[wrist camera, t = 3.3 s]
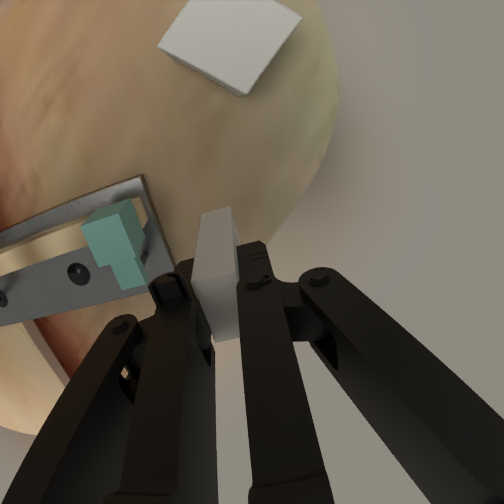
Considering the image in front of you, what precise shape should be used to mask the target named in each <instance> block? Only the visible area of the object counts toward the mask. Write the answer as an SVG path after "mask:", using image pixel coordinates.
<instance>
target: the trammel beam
mask: <svg viewBox="0 0 504 504" xmlns="http://www.w3.org/2000/svg"><path fill="white" fill-rule="evenodd" d="M131 201H132V204H133V206H134V209H135V212H136V214H137V217H138V220H139V222H140V225H141V228H142V229H143V228H144V226H145V224H146V222H147V220H148V217H147V214H146V211H145V209H144V206H143V203H142V200H141V198H140V196H139V197H136V198H133V199H131ZM92 213H93V212H92ZM92 213H90V214H87V215H84V216H81V217H79V218H76V219H73V220H71V221H68V222H65V223H63V224H60V225H58V226H55V227H52V228H50V229H47V230H45V231H42V232H40V233H37V234H35V235H32V236H30V237H28V238H25V239H23V240H20V241H18V242H16V243H13V244H11V245H9V246H6V247H4V248H2V249H0V276H2V275H5V274H8V273H10V272H13V271H16V270H19V269H21V268H24V267H27V266H30V265H33V264H35V263H38V262H41V261H44V260H47V259H50V258H53V257H56V256H59V255H61V254H64V253H67V252H70V251H73V250H76V249H79V248H83V247H86V246H89V245H88V243H87V241H86V239H85V236H84V234H83V232H82V229H81V227H80V226H81V225H82V224H83V223H84V222H85V221H86V220H87V219H88V218H89V217H90V215H91V214H92Z"/></svg>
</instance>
